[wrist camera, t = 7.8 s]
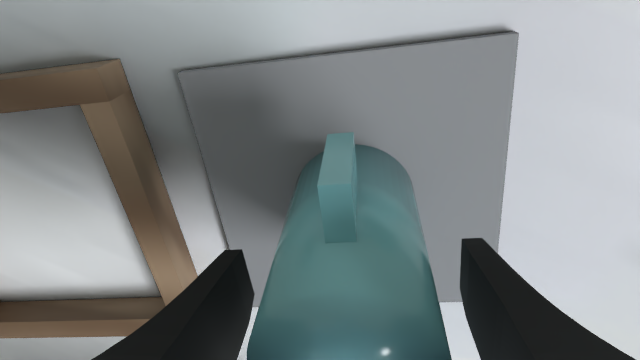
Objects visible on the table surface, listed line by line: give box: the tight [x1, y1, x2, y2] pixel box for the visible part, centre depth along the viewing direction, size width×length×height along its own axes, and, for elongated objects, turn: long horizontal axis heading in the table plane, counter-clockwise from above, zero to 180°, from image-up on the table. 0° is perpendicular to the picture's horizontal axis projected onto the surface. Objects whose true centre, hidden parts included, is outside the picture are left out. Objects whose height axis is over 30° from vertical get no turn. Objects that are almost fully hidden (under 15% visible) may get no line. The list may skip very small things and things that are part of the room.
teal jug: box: [247, 132, 452, 360], centre depth 13 cm, size 7×5×8 cm
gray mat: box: [177, 31, 519, 307], centre depth 17 cm, size 12×12×1 cm
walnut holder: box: [0, 59, 198, 338], centre depth 19 cm, size 13×13×2 cm
